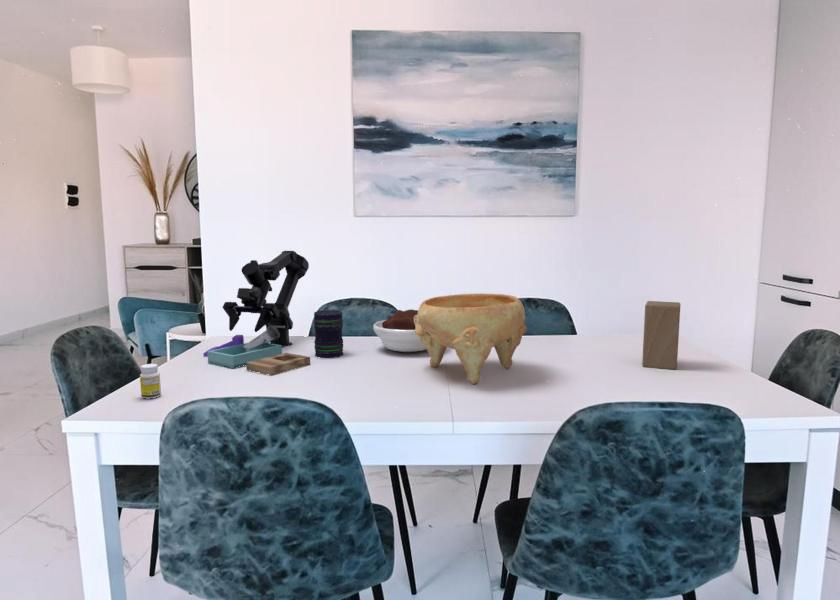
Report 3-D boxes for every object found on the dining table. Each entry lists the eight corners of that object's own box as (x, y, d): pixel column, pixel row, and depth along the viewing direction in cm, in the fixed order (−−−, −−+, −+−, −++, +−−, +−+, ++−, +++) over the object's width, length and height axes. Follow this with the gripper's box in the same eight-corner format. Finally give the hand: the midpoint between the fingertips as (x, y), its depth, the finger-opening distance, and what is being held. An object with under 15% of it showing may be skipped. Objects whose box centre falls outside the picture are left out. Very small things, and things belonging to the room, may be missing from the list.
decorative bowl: (462, 353, 200) (463, 288, 197) (548, 371, 176) (550, 297, 173) (389, 370, 177) (389, 297, 174) (476, 394, 152) (477, 308, 149)
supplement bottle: (145, 394, 153) (143, 363, 152) (163, 393, 153) (162, 363, 152) (138, 399, 148) (136, 368, 147) (157, 399, 148) (155, 367, 147)
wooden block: (677, 363, 186) (680, 302, 183) (676, 370, 177) (680, 306, 174) (644, 360, 190) (647, 300, 187) (642, 367, 181) (645, 304, 178)
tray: (256, 352, 203) (256, 341, 203) (282, 356, 196) (281, 345, 195) (208, 363, 187) (207, 351, 186) (233, 368, 179) (233, 356, 179)
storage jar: (309, 356, 196) (307, 313, 194) (324, 351, 205) (323, 309, 203) (334, 359, 192) (333, 315, 190) (348, 353, 201) (347, 311, 199)
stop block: (286, 360, 191) (286, 352, 191) (310, 364, 185) (310, 356, 184) (246, 370, 177) (246, 362, 177) (270, 375, 171) (270, 367, 171)
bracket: (244, 352, 204) (243, 333, 203) (239, 357, 197) (238, 337, 196) (210, 353, 203) (209, 334, 202) (203, 357, 196) (202, 337, 195)
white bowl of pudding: (361, 354, 199) (361, 311, 197) (390, 341, 222) (389, 302, 220) (429, 360, 190) (429, 315, 188) (451, 345, 214) (451, 305, 212)
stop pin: (249, 360, 193) (276, 340, 203) (254, 353, 190) (281, 334, 199) (239, 348, 193) (266, 329, 203) (244, 342, 190) (272, 322, 199)
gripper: (224, 278, 194) (206, 315, 185) (274, 279, 190) (259, 317, 180) (237, 298, 202) (221, 334, 193) (286, 299, 198) (271, 337, 189)
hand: (242, 330), depth 189 cm, fingers open, 9 cm apart
